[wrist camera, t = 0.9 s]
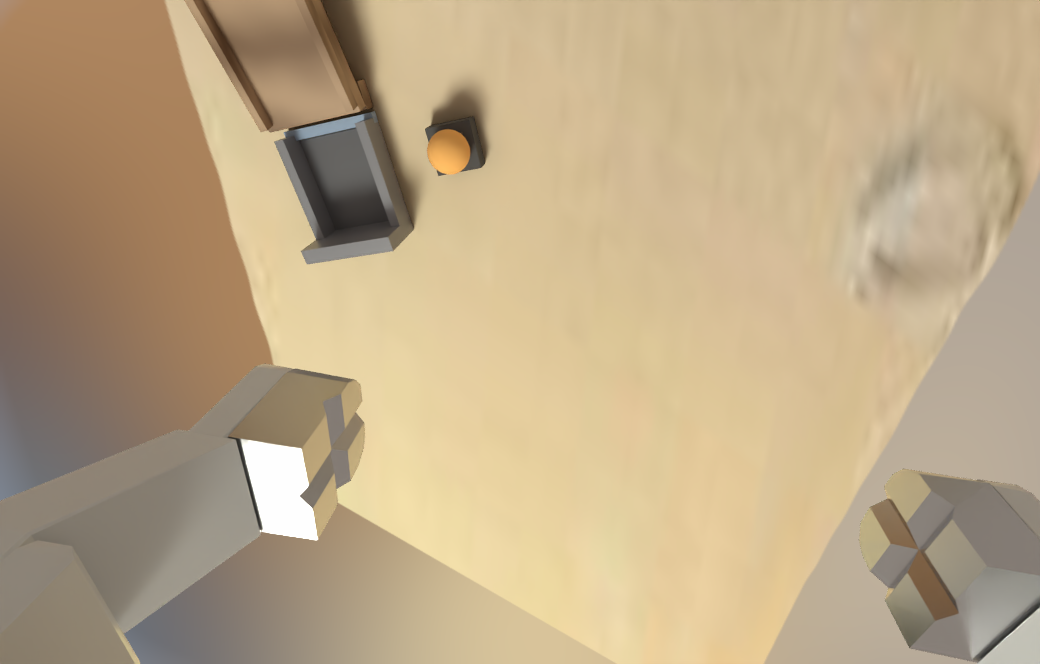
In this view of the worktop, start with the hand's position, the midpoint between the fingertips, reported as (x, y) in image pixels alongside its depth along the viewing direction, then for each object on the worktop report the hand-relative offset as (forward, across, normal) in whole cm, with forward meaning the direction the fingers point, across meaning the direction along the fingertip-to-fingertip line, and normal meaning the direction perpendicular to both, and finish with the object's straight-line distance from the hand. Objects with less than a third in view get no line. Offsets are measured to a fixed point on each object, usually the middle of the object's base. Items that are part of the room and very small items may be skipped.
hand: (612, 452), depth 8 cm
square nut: (+35, +11, +3) cm, 37 cm away
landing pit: (+36, +20, +7) cm, 41 cm away
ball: (+33, +11, +3) cm, 35 cm away
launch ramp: (+36, +23, -3) cm, 43 cm away
